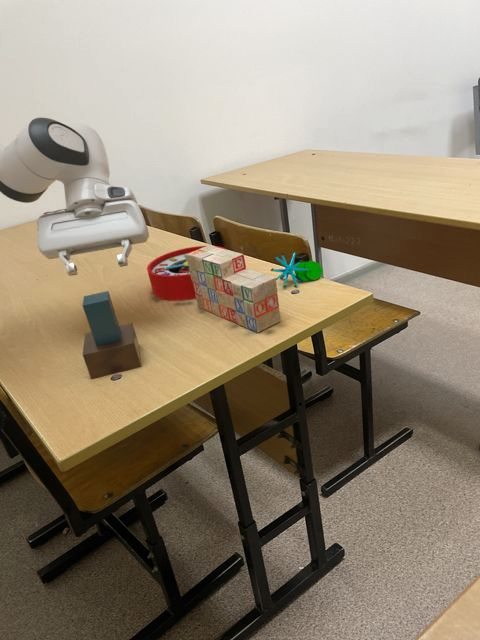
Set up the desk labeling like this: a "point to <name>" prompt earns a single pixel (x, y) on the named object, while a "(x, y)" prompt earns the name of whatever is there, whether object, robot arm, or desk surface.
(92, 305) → the teal block
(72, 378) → the desk surface
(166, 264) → the toy clock
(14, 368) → the desk surface
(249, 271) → the stack of blocks
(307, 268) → the stick construction toy
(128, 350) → the walnut block
